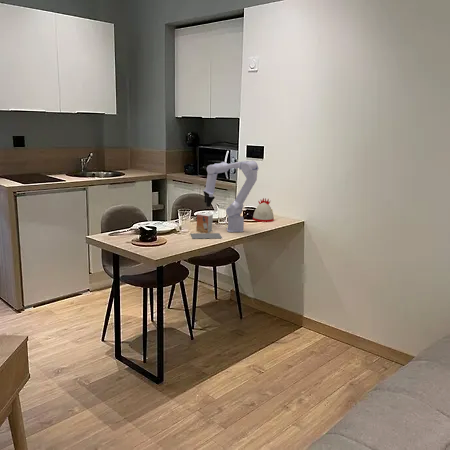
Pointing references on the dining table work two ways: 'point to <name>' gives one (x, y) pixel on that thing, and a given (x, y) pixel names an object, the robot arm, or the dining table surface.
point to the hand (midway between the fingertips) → (207, 204)
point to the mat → (206, 236)
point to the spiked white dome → (263, 212)
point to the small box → (204, 222)
